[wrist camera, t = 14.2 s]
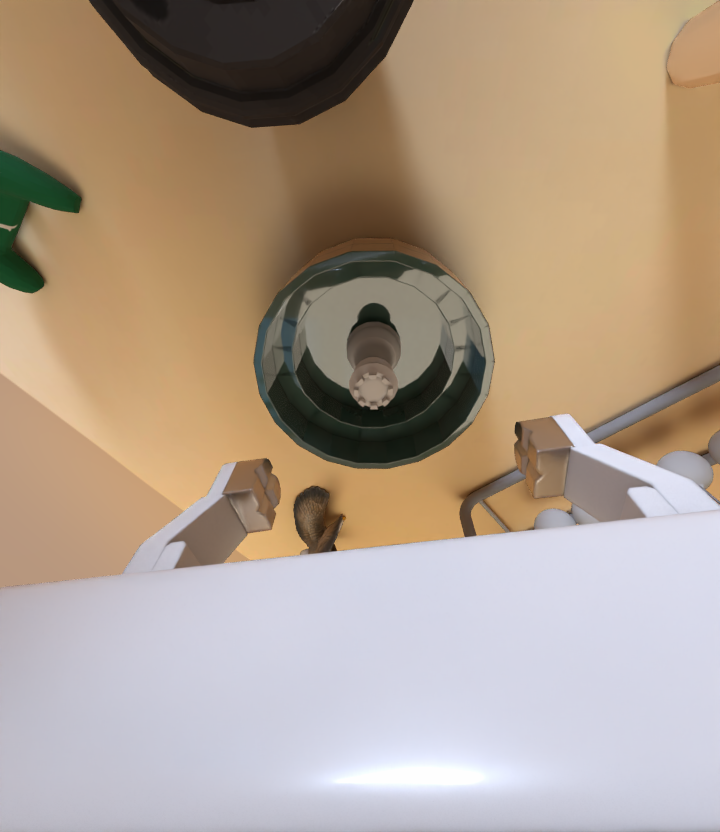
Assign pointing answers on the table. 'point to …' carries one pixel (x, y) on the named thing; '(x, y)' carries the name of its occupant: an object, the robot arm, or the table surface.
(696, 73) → the milkshake
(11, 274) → the gaming controller
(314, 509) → the eagle figurine
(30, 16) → the table surface
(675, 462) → the newton's cradle
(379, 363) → the rook chess piece
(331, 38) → the coffee cup
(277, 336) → the dark green pet bowl
